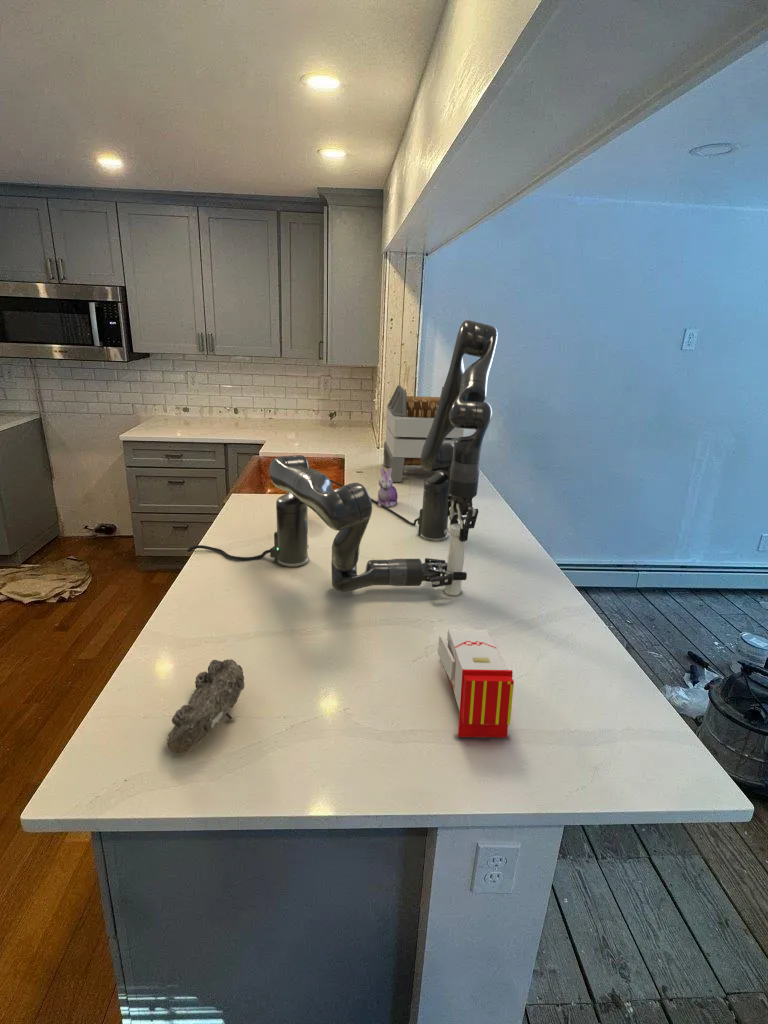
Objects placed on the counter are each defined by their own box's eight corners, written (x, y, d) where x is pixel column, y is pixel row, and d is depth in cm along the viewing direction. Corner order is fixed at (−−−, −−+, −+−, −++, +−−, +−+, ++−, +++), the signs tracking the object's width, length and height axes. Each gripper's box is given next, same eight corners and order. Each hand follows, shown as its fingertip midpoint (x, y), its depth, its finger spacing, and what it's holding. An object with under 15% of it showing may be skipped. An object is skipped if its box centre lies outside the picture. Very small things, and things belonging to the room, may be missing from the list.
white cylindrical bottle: (460, 596, 158) (467, 534, 152) (444, 594, 159) (450, 533, 152) (459, 589, 162) (466, 528, 156) (444, 587, 163) (450, 527, 156)
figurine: (382, 509, 223) (384, 472, 218) (371, 501, 232) (372, 465, 226) (403, 506, 227) (405, 470, 222) (391, 498, 236) (393, 463, 231)
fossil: (192, 660, 117) (244, 628, 112) (224, 691, 120) (276, 661, 115) (142, 746, 98) (202, 712, 93) (182, 779, 101) (242, 748, 96)
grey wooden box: (382, 463, 289) (386, 382, 275) (445, 464, 293) (451, 384, 279) (390, 482, 257) (394, 392, 243) (460, 483, 261) (468, 394, 247)
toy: (488, 613, 130) (523, 677, 101) (484, 667, 133) (517, 744, 104) (435, 612, 130) (455, 676, 101) (432, 666, 133) (451, 743, 103)
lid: (468, 530, 156) (469, 524, 156) (468, 536, 152) (468, 531, 151) (449, 527, 157) (450, 522, 156) (448, 534, 152) (449, 529, 152)
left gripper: (408, 571, 149) (471, 571, 151) (401, 549, 162) (459, 549, 164) (406, 596, 151) (469, 596, 153) (399, 573, 165) (457, 572, 167)
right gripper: (491, 484, 144) (483, 545, 150) (463, 469, 157) (457, 526, 162) (465, 486, 141) (458, 548, 147) (439, 470, 154) (434, 529, 160)
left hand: (463, 571), depth 159 cm, fingers closed on white cylindrical bottle, 4 cm apart
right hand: (458, 536), depth 155 cm, fingers closed on lid, 5 cm apart
